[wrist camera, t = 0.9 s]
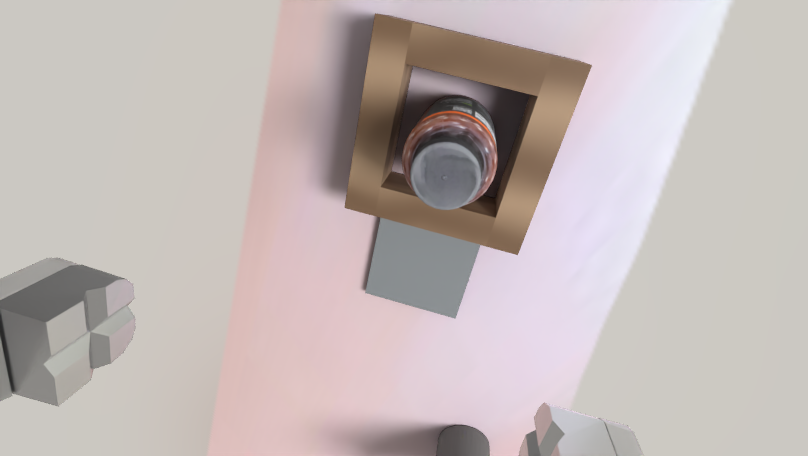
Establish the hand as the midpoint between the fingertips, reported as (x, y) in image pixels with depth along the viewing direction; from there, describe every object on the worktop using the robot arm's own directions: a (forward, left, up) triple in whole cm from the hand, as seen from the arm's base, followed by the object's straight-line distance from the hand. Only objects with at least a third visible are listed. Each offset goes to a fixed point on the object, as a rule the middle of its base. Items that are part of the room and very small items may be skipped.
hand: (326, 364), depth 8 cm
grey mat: (+14, +1, -28) cm, 31 cm away
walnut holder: (+1, +1, -28) cm, 28 cm away
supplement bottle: (+1, +1, -28) cm, 28 cm away
